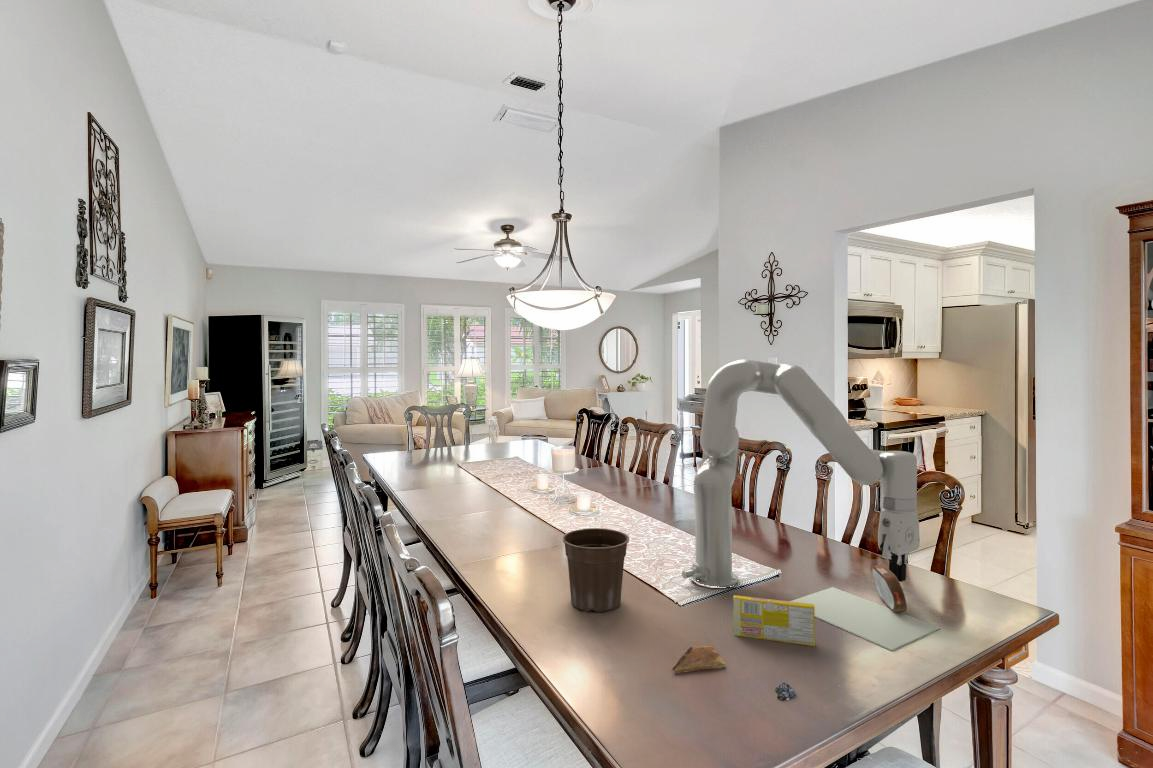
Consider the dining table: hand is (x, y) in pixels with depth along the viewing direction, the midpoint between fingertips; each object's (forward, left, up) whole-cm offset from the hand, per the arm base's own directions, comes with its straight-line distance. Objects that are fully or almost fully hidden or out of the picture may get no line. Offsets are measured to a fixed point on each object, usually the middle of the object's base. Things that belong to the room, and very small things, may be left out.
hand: (897, 579), depth 135 cm
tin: (-2, 0, -6) cm, 6 cm away
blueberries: (-52, -10, -7) cm, 54 cm away
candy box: (-38, +4, -6) cm, 39 cm away
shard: (-58, +4, -7) cm, 59 cm away
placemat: (-13, +1, -6) cm, 15 cm away
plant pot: (-60, +39, -6) cm, 72 cm away
